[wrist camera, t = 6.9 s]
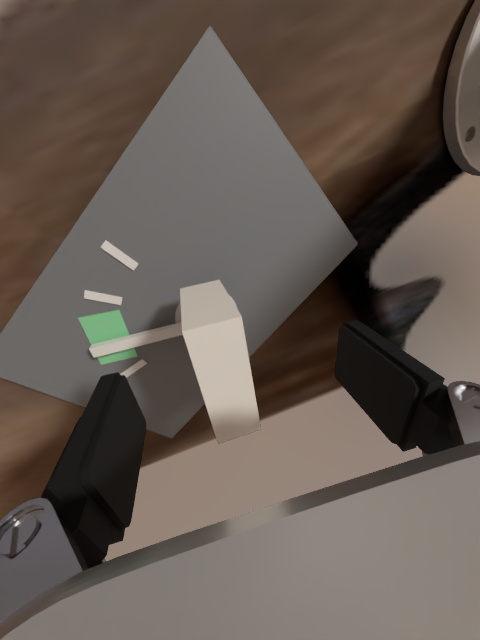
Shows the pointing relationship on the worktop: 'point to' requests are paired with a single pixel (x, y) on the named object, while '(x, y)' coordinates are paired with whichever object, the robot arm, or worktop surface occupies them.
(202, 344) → the door lever handle
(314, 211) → the dial board
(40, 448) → the worktop surface
